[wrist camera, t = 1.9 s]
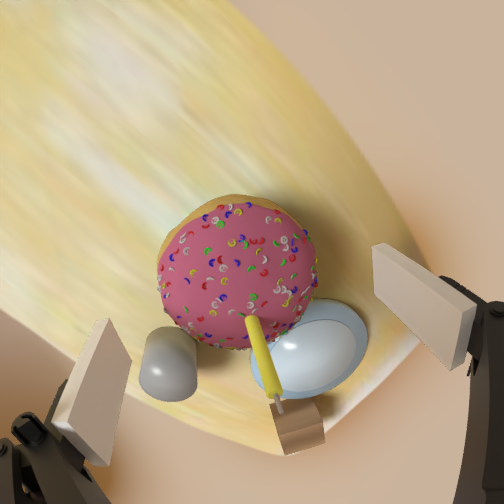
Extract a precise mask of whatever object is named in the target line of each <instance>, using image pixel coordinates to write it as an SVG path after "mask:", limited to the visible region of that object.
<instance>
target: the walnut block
mask: <svg viewBox="0 0 504 504" xmlns="http://www.w3.org/2000/svg"><path fill="white" fill-rule="evenodd" d="M281 404H282V407H283V410H284V413H283V414H279V412H278V409H277V406H276V403H272V404H269V405H270V408H271V412H272V415H273V419H274V422H275V426H276V429H277V433H278V436H279V439H280V442H281V445H282V448H283V451H284V454H285V455H288V454H292V453H295V452H298V451H302V450H305V449H308V448H311V447H315V446H318V445H320V444H324V443H325V437H324V428H323V421H322V419H321V417H320V414H319V412H318V410H317V407H316V405H315V403H314V400H313V398H312V397H308V398H302V399H286V400H283V401H281Z"/></svg>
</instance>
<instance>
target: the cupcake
mask: <svg viewBox="0 0 504 504" xmlns="http://www.w3.org/2000/svg"><path fill="white" fill-rule="evenodd" d="M305 232H306V233H305ZM316 263H317V258H315V250H314V246H313V244H312V242H311V240H310V237H309V236H308V235H307V231H306V230H303V228H302V227H301V225H300V224H299V223H298V222H297V221H296V220H295V219H294V218H293V217H292V216H291V215H290V214H288V213H287V212H286V211H285V210H283V209H282V208H281V207H279V206H278V205H277V204H275V203H273V202H272V201H269V200H267V199H263V198H257V197H251V196H246V195H239V194H231V195H226V196H222V197H218V198H215V199H213V200H211V201H209V202H207V203H205V204H204V205H202V206H200V207H199V208H197V209H196V210H195V211H193V212H192V213H191V214H190V215H189V216H188V217H186V218H185V219H184V220H183V221H182V222H181V223H180V224H179V225H178V226H177V227H175V228H174V229H172V230H171V231H170V232H169V234H168V235H167V237H166V239H165V241H164V242H163V244H162V247H161V249H160V252H159V255H158V259H157V273H158V277H157V280H158V283H159V286H158V287H157V289H158V291H159V292H160V293H161V297H162V302H163V305H164V312H165V313H167V314H169V316H170V317H171V318H172V319H173V320H174V322H175V324H176V325H179V326H180V327H181V328H182V329H183V330H184V331H185V332H187V333H188V334H189V335H191V336H193V339H194V340H197V341H198V342H199V343H200V341H203V342H205V343H208V344H209V345H210V346H215V347H216V348H223V347H224V348H229V349H230V350H234V349H237V350H241V349H242V350H246V349H247V347H248V348H251V347H252V348H253V351H254V355H255V358H256V362H257V365H258V369H259V372H260V375H261V379H262V382H263V385H264V389H265V392H266V395H267V397H268V398H270V399H274V400H275V403H276V406H277V409H278V412H279V414H283V413H284V410H283V407H282V404H281V401H280V398H279V397H280V396H281V395H282V394H283V389H282V386H281V383H280V380H279V377H278V374H277V372H276V369H275V366H274V363H273V360H272V357H271V354H270V351H269V348H268V345H267V344H271V342H275V341H276V340H275V338H276V339H280V338H281V335H287V334H288V333H289V330H292V329H293V328H294V326H295V325H296V323H297V322H300V321H301V319H302V317H301V316H302V315H304V312H305V310H306V308H307V306H308V304H309V302H310V301H312V300H313V298H312V294H313V289H314V287H317V285H318V282H317V277H316V273H317V272H316ZM159 289H160V290H159ZM165 310H166V311H167V312H166V311H165ZM299 319H300V320H299ZM285 333H286V334H285ZM279 336H280V337H279ZM278 337H279V338H278ZM195 338H196V339H195ZM270 341H271V342H270ZM243 348H245V349H243Z"/></svg>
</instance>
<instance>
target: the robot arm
mask: <svg viewBox="0 0 504 504" xmlns="http://www.w3.org/2000/svg"><path fill="white" fill-rule="evenodd" d="M371 248H372V263H373V280H374V295H375V296H376V297H377V298H379V299H380V300H381V301H382V302H383V303H384V304H385V305H386V306H387V307H388V308H389V309H390V310H391V311H392V312H393V313H394V314H395V315H396V316H397V317H398V318H399V319H400V320H401V321H402V322H403V323H404V324H405V325H406V326H407V327H408V328H409V329H410V330H411V331H412V332H413V333H414V334H415V335H416V336H417V337H418V338H419V339H420V340H421V341H422V342H423V343H424V344H425V345H426V346H427V347H428V348H429V350H430V351H431V352H432V353H433V354H434V355H435V356H436V357H437V358H438V359H439V360H440V361H441V362H442V363H443V364H444V365H445V366H446V367H447V368H448V369H449V371H451V370H453V369H454V368H456V367H457V366H459V365H461V364H463V363H464V360H465V357H466V353H467V351H468V352H469V353H470V354H471V355H472V360H471V363H470V366H469V370H468V373H467V376H469V374H470V372H471V377H470V378H471V380H470V400H469V413H468V424H467V432H466V440H465V447H464V453H463V459H462V465H461V470H460V475H459V480H458V485H457V489H456V493H455V497H454V501H453V504H504V302H499V301H493V302H489V303H486V302H485V301H484V300H482V299H481V298H480V297H478V296H477V295H475V294H474V293H472V292H471V291H469V290H466V288H465V287H464V286H462V285H460V284H459V283H457V282H456V281H455V280H453V279H451V278H448V277H445V276H439V277H437V276H436V275H434V274H433V273H431V272H430V271H428V270H427V269H425V268H424V267H422V266H421V265H419V264H418V263H416V262H415V261H413V260H411V259H410V258H408V257H407V256H405V255H404V254H402V253H401V252H399V251H397V250H396V249H394V248H393V247H391V246H389V245H388V244H386V243H385V242H384V243H380V244H377V245H374V246H371ZM131 363H132V360H131V358H130V356H129V354H128V353H127V351H126V349H125V347H124V345H123V343H122V342H121V340H120V338H119V336H118V334H117V332H116V330H115V328H114V326H113V324H112V322H111V320H110V318H106V319H102V320H98V321H96V323H95V325H94V327H93V329H92V331H91V333H90V335H89V337H88V339H87V341H86V343H85V345H84V347H83V349H82V351H81V353H80V355H79V358H78V360H77V362H76V364H75V366H74V368H73V371H72V373H71V375H70V377H69V379H66V380H65V381H64V382H63V384H62V385H61V386H60V387H59V389H58V391H57V394H56V396H55V397H56V398H54V401H53V405H51V408H50V410H49V412H48V415H47V417H46V420H45V422H44V425H43V424H42V422H41V421H40V420H39V419H38V418H37V417H36V415H35V414H34V413H32V412H25V413H23V414H21V415H19V416H18V417H17V418H16V419H15V421H14V422H13V424H12V427H11V433H12V434H13V435H14V436H15V437H16V438H17V439H18V440H19V441H20V442H21V443H22V444H20V445H16V446H15V445H14V444H13V443H12V442H11V441H10V440H9V439H7V438H2V439H0V504H111V502H110V501H109V500H108V498H107V497H106V496H105V494H104V493H103V491H102V490H101V488H100V487H99V485H98V484H97V483H96V481H95V480H94V478H93V476H92V475H91V473H90V472H89V470H88V469H87V468H86V467H85V466H84V465H83V464H84V460H85V458H86V459H87V460H88V461H89V462H90V463H91V464H92V465H94V466H110V460H111V454H112V448H113V443H114V438H115V433H116V428H117V423H118V418H119V414H120V409H121V404H122V400H123V396H124V391H125V387H126V383H127V379H128V375H129V371H130V367H131ZM22 485H23V486H24V487H25V492H24V491H23V488H22Z"/></svg>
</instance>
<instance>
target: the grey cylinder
mask: <svg viewBox="0 0 504 504" xmlns="http://www.w3.org/2000/svg"><path fill="white" fill-rule="evenodd" d="M139 383H140V385H141V387H142V389H143V390H144V391H145V392H146V393H147V394H148V395H150V396H151V397H153V398H155V399H158V400H161V401H167V402H177V401H182V400H185V399H187V398H189V397H190V396H192V395H193V394H194V392H195V391H196V389H197V347H196V343H195V341H194V339H193V337H192V336H191V335H189V334H188V333H187V332H185V331H184V330H182V329H180V328H176V327H161V328H158V329H156V330H154V331H152V332H151V333H150V334H149V336H148V337H147V340H146V344H145V349H144V354H143V359H142V364H141V369H140V374H139Z"/></svg>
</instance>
